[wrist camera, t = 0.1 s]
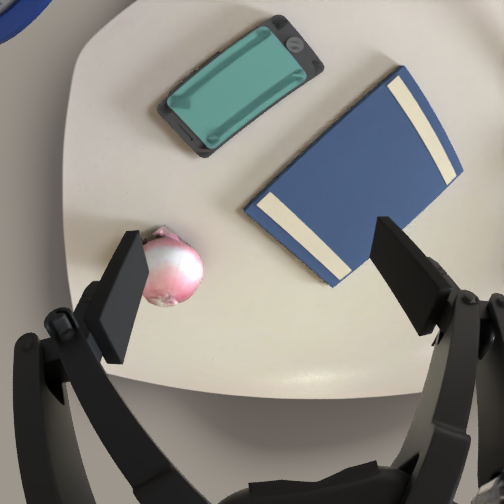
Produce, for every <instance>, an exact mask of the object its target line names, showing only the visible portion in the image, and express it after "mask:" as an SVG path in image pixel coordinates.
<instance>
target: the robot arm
mask: <svg viewBox="0 0 504 504" xmlns="http://www.w3.org/2000/svg"><path fill="white" fill-rule="evenodd" d="M19 1H20V0H0V17H1V16H2V15H4V14H5V13H7V12H8V11H9V10H10V9H12V8H13V7H14V6H15V5H16V4H17V3H18V2H19ZM370 259H371V260H372V262H373V263H374V265H375V266H376V268H377V269H378V271H379V272H380V274H381V275H382V277H383V278H384V280H385V281H386V283H387V284H388V286H389V287H390V289H391V290H392V292H393V294H394V295H395V297H396V298H397V300H398V302H399V303H400V305H401V306H402V308H403V310H404V311H405V313H406V315H407V316H408V318H409V320H410V321H411V323H412V325H413V326H414V328H415V330H416V331H417V333H418V335H419V336H423V335H427V334H431V333H432V332H433V330H434V328H435V326H436V324H437V325H438V327H439V329H440V330H439V332H438V334H437V336H436V338H435V340H434V342H433V344H432V345H431V346H434V344H435V347H434V351H433V355H432V359H431V363H430V367H429V371H428V374H427V378H426V381H425V384H424V388H423V391H422V395H421V397H420V400H419V403H418V406H417V409H416V412H415V415H414V418H413V421H412V424H411V426H410V429H409V431H408V434H407V436H406V439H405V441H404V444H403V446H402V448H401V451H400V453H399V454H398V456H397V458H396V459H395V460H394V462H393V463H392V465H391V466H390V467H387V466H378V465H377V462H376V460H375V461H372V462H369V463H365V464H362V465H358V466H354V467H349V468H346V469H344V470H342V471H341V472H339V473H336V474H334V475H332V476H330V477H328V478H325V479H323V480H321V481H318V482H300V481H288V480H276V481H266V482H254V483H248V484H249V488H246V489H243V490H240V491H238V492H235V493H233V494H231V495H230V496H228V497H226V498H225V499H224V500H222V501H221V502H220V503H218V504H457V503H455V502H453V499H454V496H455V493H456V490H457V488H458V485H459V482H460V479H461V475H462V472H463V469H464V466H465V462H466V458H467V455H468V451H469V447H470V442H471V437H470V435H467V434H466V428H467V424H468V419H469V414H470V409H471V404H472V398H473V392H474V385H475V380H476V389H477V390H476V391H477V405H478V435H479V436H478V437H479V438H478V439H479V440H478V441H479V442H478V487H479V491H478V492H477V495H476V496H475V497H474V498H473V499H472V501H471V504H504V296H503V295H502V294H499V293H494V294H492V295H491V297H490V299H489V301H479V299H478V297H477V296H476V295H475V294H474V293H472V292H470V291H467V290H460V288H459V287H458V286H457V285H456V283H455V282H454V281H453V280H452V279H451V277H450V276H449V275H447V273H446V272H445V270H443V268H442V267H441V266H440V265H439V264H438V262H436V261H435V260H433V259H432V258H430V257H426V256H425V254H424V253H423V252H422V251H421V250H420V249H419V248H418V247H417V246H416V244H415V243H414V242H413V241H412V240H411V239H410V238H409V237H408V236H407V235H406V234H405V233H404V232H403V231H402V229H401V228H400V227H399V226H398V225H397V224H396V223H395V222H394V221H393V220H392V219H391V218H390V217H389V216H377V221H376V226H375V232H374V237H373V242H372V247H371V252H370ZM148 275H149V268H148V264H147V260H146V256H145V252H144V248H143V244H142V240H141V236H140V231H139V230H135V231H126V233H125V234H124V236H123V238H122V240H121V242H120V243H119V245H118V247H117V249H116V251H115V253H114V255H113V256H112V258H111V260H110V262H109V264H108V266H107V268H106V270H105V272H104V274H103V276H102V278H101V280H100V281H93V282H91V283H90V284H89V285H88V286H87V287H86V288H85V290H84V292H83V294H82V297H81V298H80V300H79V303H78V304H77V306H76V308H75V310H74V312H73V313H72V311H71V310H70V309H69V308H65V307H64V308H63V307H62V308H58V309H55V310H53V311H52V312H50V313H49V314H48V316H47V317H46V318H45V321H44V326H45V328H46V330H47V332H48V333H49V335H50V336H51V338H47V339H43V340H39V338H38V336H37V335H36V334H35V333H26V334H24V335H23V336H21V337H20V338H19V339H18V340H17V342H16V344H15V347H14V363H13V411H14V427H15V438H16V448H17V455H18V462H19V468H20V474H21V480H22V485H23V489H24V493H25V498H26V502H27V504H96V502H95V499H94V496H93V493H92V491H91V488H90V485H89V482H88V479H87V475H86V472H85V469H84V466H83V463H82V459H81V455H80V451H79V447H78V443H77V440H76V436H75V431H74V427H73V422H72V417H71V412H70V407H69V400H68V394H67V389H66V382H69V381H70V382H71V385H72V387H73V389H74V391H75V393H76V395H77V397H78V399H79V401H80V403H81V405H82V407H83V409H84V411H85V413H86V415H87V416H88V418H89V420H90V422H91V424H92V426H93V428H94V429H95V431H96V433H97V434H98V436H99V438H100V440H101V441H102V443H103V444H104V446H105V448H106V449H107V451H108V453H109V454H110V455H111V457H112V459H113V460H114V462H115V463H116V465H117V466H118V468H119V469H120V470H121V472H122V473H123V475H124V476H125V478H126V479H127V480H128V482H129V483H130V485H131V486H132V488H133V493H134V495H135V497H136V498H137V500H138V501H139V502H140V504H211V503H210V502H209V501H208V500H207V499H206V498H205V497H204V496H203V495H202V494H201V493H200V492H199V491H198V490H197V489H196V488H195V487H194V486H193V485H192V484H191V483H190V482H189V481H188V480H187V479H186V478H185V477H184V476H183V475H182V473H180V471H179V470H178V469H177V468H176V467H175V466H174V464H173V463H172V462H171V461H170V460H169V459H168V458H167V457H166V455H165V454H164V453H163V452H162V450H161V449H160V448H159V447H158V446H157V445H156V443H155V442H154V441H153V439H152V438H151V437H150V436H149V434H148V433H147V432H146V430H145V429H144V428H143V427H142V425H141V424H140V422H139V421H138V420H137V418H136V417H135V415H134V414H133V413H132V412H131V410H130V409H129V407H128V406H127V404H126V403H125V401H124V400H123V398H122V397H121V395H120V394H119V392H118V391H117V389H116V388H115V386H114V385H113V383H112V381H111V380H110V378H109V377H108V375H107V373H106V372H105V370H104V368H103V367H102V365H101V363H100V361H101V358H102V355H103V357H104V359H105V361H106V362H107V364H123V362H124V358H125V354H126V350H127V346H128V342H129V339H130V335H131V331H132V328H133V324H134V321H135V317H136V314H137V310H138V307H139V304H140V300H141V297H142V294H143V291H144V288H145V284H146V281H147V278H148ZM493 338H494V339H493Z"/></svg>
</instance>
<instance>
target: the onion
mask: <svg viewBox="0 0 504 504" xmlns="http://www.w3.org/2000/svg"><path fill="white" fill-rule="evenodd" d="M152 235H154V236H156V238H157V237H161V238H159V239H154V240H151V241H149V242H147V240H148V239H149V238H150V237H151V236H152ZM148 239H147V238H146V239H144V240H143V241H142V244H143V245H144V244H145V245H144V246H143V248H144V252H145V256H146V260H147V264H148V268H149V275H148V278H147V281H146V284H145V288H144V291H143V294H142V295H143V296H144V297H145V298H146V299H147V301H148V302H149V303H151V304H154V305H157V306H160V307H170V306H174V305H176V304H178V303H181V302H184V301H185V300H187V299H189V298H190V297H191V296H192V295H193V294H194V292H195V291H196V289H197V288H198V286H199V284H200V282H201V280H202V277H203V263H202V260H201V258H200V256H199V255H198V253H197V252H196V251H195V250H194V249H193V248H191V246H190V245H188V244H187V243H186V242H184V241H183V240H182V239H181V238H179V237H178V236H177V235H176V234H175V233H173V232H172V231H171V230H170V229H169V228H167V227H166V226H165V225H164V226H162V227H161V228H160V229H158V230H157V231H155V232H154V233H153V234H151V235H150V236H149V237H148Z"/></svg>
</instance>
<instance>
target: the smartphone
mask: <svg viewBox="0 0 504 504" xmlns="http://www.w3.org/2000/svg"><path fill="white" fill-rule="evenodd" d="M323 70H324V65H323V63H322V62H321V61H320V59H319V58H318V57H317V55H316V54H315V53H314V51H313V50H312V49H311V48H310V46H309V45H308V44H307V43H306V41H305V40H304V39H303V38H302V36H301V35H300V34H299V33H298V32H297V31H296V29H295V28H294V27H293V26H292V25H291V24H290V22H289V21H288V20H287V19H286V18H285V17H284V16H282V15H275V16H273V17H272V18H270V19H269V20H267V21H265V22H264V23H262V24H261V25H259V26H258V27H256V28H255V29H253V30H252V31H250V32H249V33H247V34H246V35H244V36H243V37H241V38H240V39H238V40H237V41H236V42H234V43H233V44H231V45H230V46H229V47H227V48H226V49H225V50H223V51H222V52H218V53H216V54H215V55H214V56H212V57H211V58H210V59H209V60H207V61H206V62H205V63H203V64H202V65H201V66H200V67H199V70H198V71H197V70H196V71H194V72H192V73H191V74H190V75H189V76H188V77H186V78H185V79H184V80H183V82H181V83H179V84H178V85H177V86H176V87H175V88H174V89H173V90H172V91H170V92H169V95H168V97H166V98H165V99H164V100H163V101H162V102H161V103H160V104H159V105H158V107H157V111H158V113H159V114H160V115H161V116H162V117H163V118H164V119H165V120H166V122H167V123H168V124H169V125H170V126H171V127H172V128H173V129H174V130H175V131H176V132H177V133H178V134H179V135H180V136H181V137H182V138H183V139H184V140H185V141H186V142H187V143H188V145H189V146H190V147H191V148H192V149H193V150H194V151H195V152H196V153H197V154H198V155H199V156H200V157H202V158H207V157H209V156H210V155H211V154H213V153H214V152H215V151H216V150H217V149H219V148H220V147H221V146H222V145H223V144H225V143H226V142H227V141H228V140H230V139H231V138H232V137H233V136H235V135H236V134H237V133H238V132H240V131H241V130H242V129H243V128H245V127H246V126H247V125H249V124H250V123H251V122H252V121H254V120H255V119H256V118H258V117H259V116H260V115H262V114H263V113H264V112H266V111H267V110H268V109H270V108H271V107H272V106H274V105H275V104H277V103H278V102H279V101H281V100H282V99H283V98H285V97H286V96H288V95H289V94H291V93H292V92H293V91H295V90H296V89H298V88H299V87H301V86H302V85H303V84H305V83H306V82H308V81H309V80H311V79H312V78H314V77H315V76H317V75H318V74H320V73H321V72H323Z"/></svg>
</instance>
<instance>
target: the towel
mask: <svg viewBox="0 0 504 504" xmlns="http://www.w3.org/2000/svg"><path fill="white" fill-rule="evenodd" d="M463 171H464V170H463V168H462V166H461V164H460V161H459V159H458V157H457V155H456V153H455V151H454V149H453V147H452V145H451V143H450V141H449V139H448V137H447V135H446V133H445V131H444V129H443V127H442V125H441V123H440V122H439V120H438V118H437V116H436V114H435V113H434V111H433V109H432V108H431V106H430V104H429V102H428V101H427V99H426V98H425V96H424V94H423V93H422V91H421V90H420V88H419V86H418V85H417V83H416V82H415V80H414V79H413V77H412V76H411V74H410V73H409V71H408V70H407V69H406V67H405V66H400V67H398V68H397V69H396V70H395V71H394V72H392V73H391V74H390V75H389V76H388V77H387V78H385V79H384V80H383V81H382V82H381V83H380V84H378V85H377V86H376V87H375V88H374V89H373V90H372V91H370V92H369V93H368V94H367V95H366V96H365V97H364V98H362V99H361V100H360V101H359V102H358V103H357V104H356V105H354V106H353V107H352V108H351V109H350V110H349V111H348V112H347V113H345V114H344V115H343V116H342V117H341V118H340V119H339V120H338V121H337V122H335V123H334V124H333V125H332V126H331V127H330V128H329V129H328V130H327V131H325V132H324V133H323V134H322V135H321V136H320V137H319V138H318V139H317V140H316V141H315V142H313V143H312V144H311V145H310V146H309V147H308V148H307V149H306V150H305V151H304V152H303V153H302V154H300V155H299V156H298V157H297V158H296V159H295V160H294V161H293V162H292V163H291V164H290V165H289V166H288V167H287V168H286V169H284V170H283V171H282V172H281V173H280V174H279V175H278V176H277V177H276V178H275V179H274V180H273V181H272V182H271V183H270V184H269V185H268V186H267V187H266V188H265V189H263V190H262V191H261V192H260V193H259V194H258V195H257V196H256V197H255V198H254V199H253V200H252V201H251V202H250V203H249V204H248V205H247V206H246V207H245V208H244V212H245V213H246V214H247V215H248V216H249V217H251V218H252V219H253V220H254V221H255V222H257V223H258V224H259V225H260V226H261V227H262V228H264V229H265V230H266V231H267V232H268V233H270V234H271V235H272V236H273V237H274V238H275V239H277V240H278V241H279V242H280V243H281V244H282V245H284V246H285V247H286V248H287V249H288V250H289V251H291V252H292V253H293V254H294V255H295V256H296V257H298V258H299V259H300V260H301V261H302V262H303V263H304V264H306V265H307V266H308V267H309V268H310V269H311V270H313V271H314V272H315V273H316V274H317V275H318V276H319V277H321V278H322V279H323V280H324V281H325V282H326V283H327V284H329V285H330V286H331V287H332V288H333V287H335V286H336V285H337V284H338V283H340V282H341V281H342V280H343V279H345V278H346V277H347V276H348V275H350V274H351V273H352V272H353V271H354V270H356V269H357V268H358V267H359V266H360V265H362V264H363V263H364V262H365V261H366V260H368V259H369V258H370V252H371V247H372V242H373V237H374V232H375V226H376V221H377V216H389V217H390V218H391V219H392V220H393V221H394V222H395V223H396V224H397V225H398V226H399V227H400V228H401V229H403V228H404V227H406V226H407V225H408V224H409V223H410V222H411V221H412V220H413V219H414V218H415V217H417V216H418V215H419V214H420V213H421V212H422V211H423V210H424V209H425V208H426V207H427V206H428V205H429V204H430V203H432V202H433V201H434V200H435V199H436V198H437V197H438V196H439V195H440V194H441V193H442V192H443V191H444V190H445V189H446V188H447V187H448V186H449V185H450V184H451V183H452V182H453V181H454V180H455V179H456V178H457V177H458V176H459V175H460V174H461V173H462V172H463Z"/></svg>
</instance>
